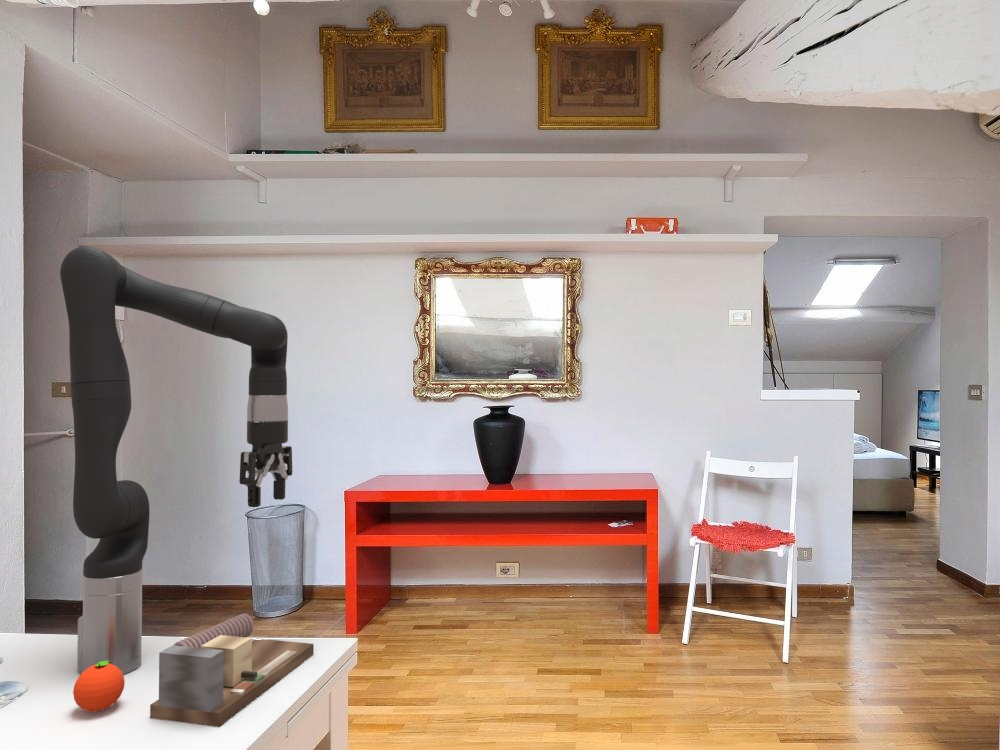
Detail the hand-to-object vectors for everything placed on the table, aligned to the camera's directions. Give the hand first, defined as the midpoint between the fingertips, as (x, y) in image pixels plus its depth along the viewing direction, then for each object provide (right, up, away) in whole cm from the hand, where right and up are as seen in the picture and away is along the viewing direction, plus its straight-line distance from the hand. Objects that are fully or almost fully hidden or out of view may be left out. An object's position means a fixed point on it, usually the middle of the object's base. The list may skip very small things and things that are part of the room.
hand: (267, 502), depth 130 cm
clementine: (-18, -28, -24) cm, 41 cm away
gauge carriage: (+1, -25, -21) cm, 33 cm away
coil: (-10, -29, -1) cm, 30 cm away
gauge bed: (+1, -28, -15) cm, 32 cm away
